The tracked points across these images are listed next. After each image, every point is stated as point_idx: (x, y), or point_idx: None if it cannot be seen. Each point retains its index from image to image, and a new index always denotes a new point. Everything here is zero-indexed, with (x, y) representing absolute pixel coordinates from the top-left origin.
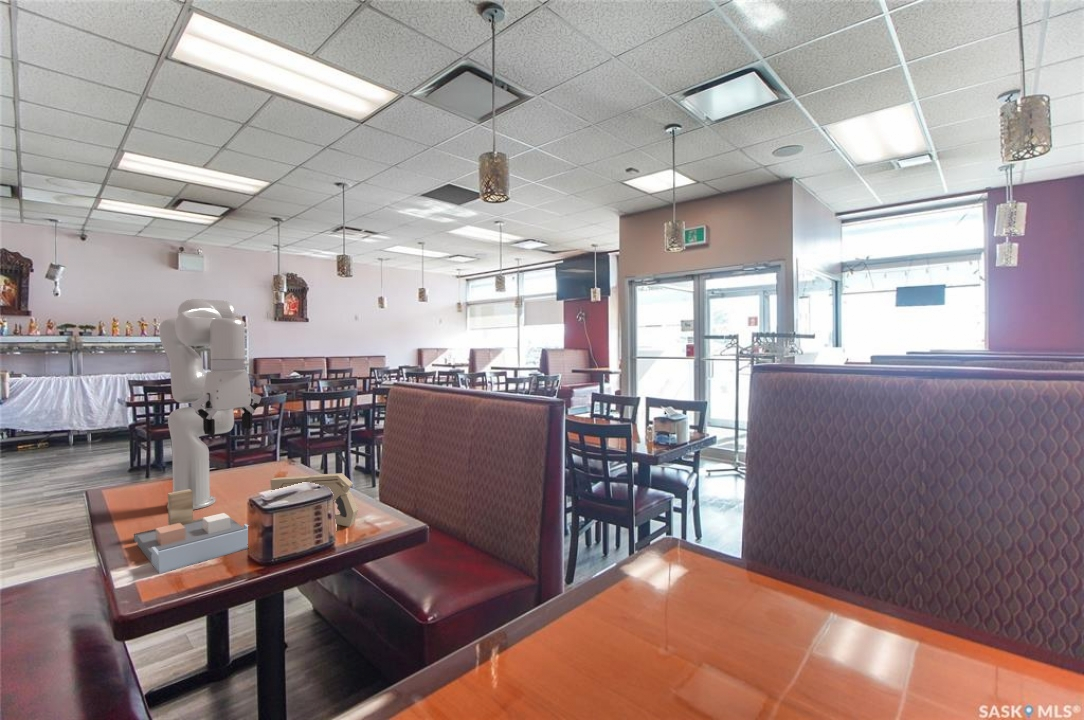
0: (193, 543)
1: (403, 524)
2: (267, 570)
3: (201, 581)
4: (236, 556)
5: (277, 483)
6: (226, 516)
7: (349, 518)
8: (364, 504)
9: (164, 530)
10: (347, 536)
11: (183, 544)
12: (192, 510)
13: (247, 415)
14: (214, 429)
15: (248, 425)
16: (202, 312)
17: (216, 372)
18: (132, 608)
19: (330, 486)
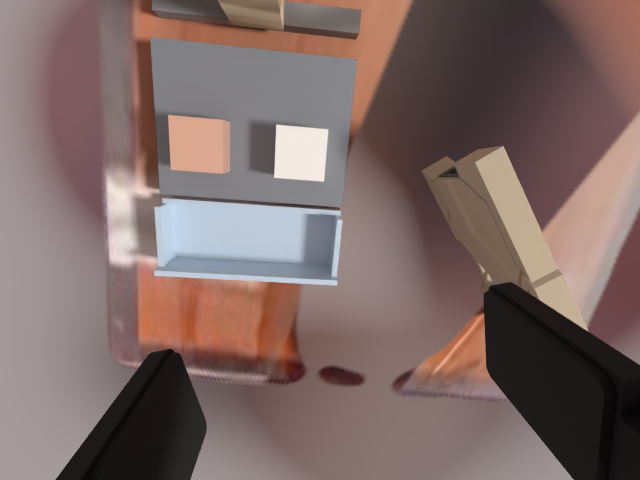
0: (215, 278)
1: None
2: (299, 373)
3: (217, 338)
4: (289, 286)
5: (478, 185)
6: (320, 168)
7: None
8: (611, 215)
9: (181, 154)
10: (454, 349)
11: (220, 198)
12: (279, 15)
13: (584, 469)
14: (193, 464)
15: (501, 386)
16: None
17: None
18: (125, 352)
19: None
